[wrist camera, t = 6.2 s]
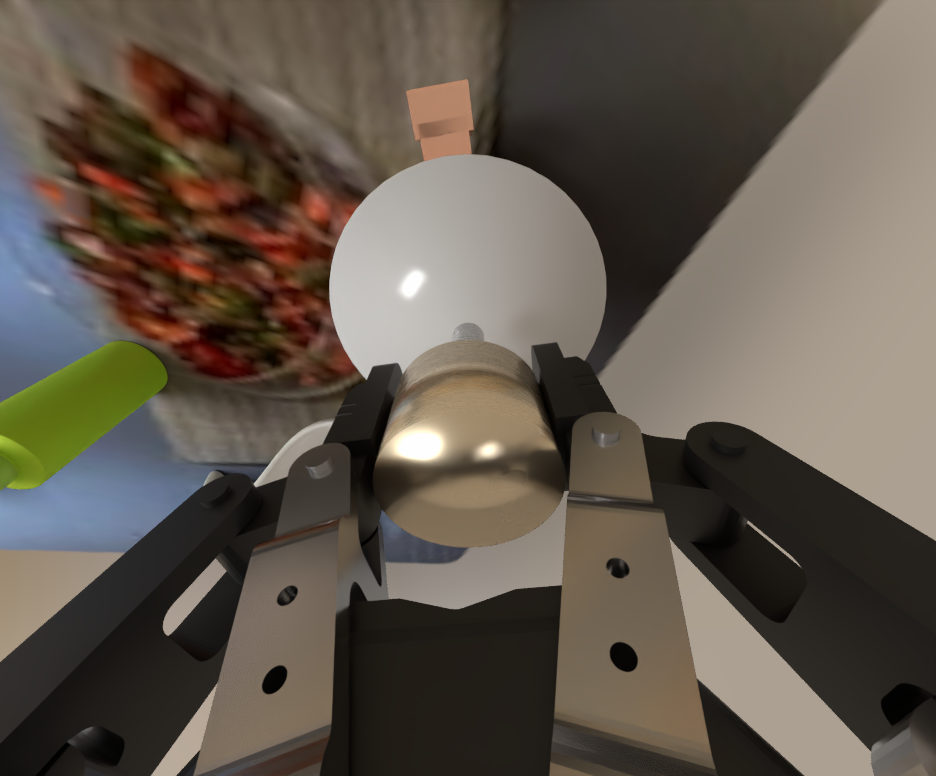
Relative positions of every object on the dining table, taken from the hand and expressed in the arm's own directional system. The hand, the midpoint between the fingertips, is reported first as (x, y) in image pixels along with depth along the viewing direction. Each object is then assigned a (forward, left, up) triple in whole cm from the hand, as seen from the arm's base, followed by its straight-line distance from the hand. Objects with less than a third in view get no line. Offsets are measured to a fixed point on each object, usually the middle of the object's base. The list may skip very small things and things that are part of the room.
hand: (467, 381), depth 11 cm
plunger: (0, 0, -3) cm, 3 cm away
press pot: (-1, 0, -23) cm, 23 cm away
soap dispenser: (+7, -34, -23) cm, 42 cm away
